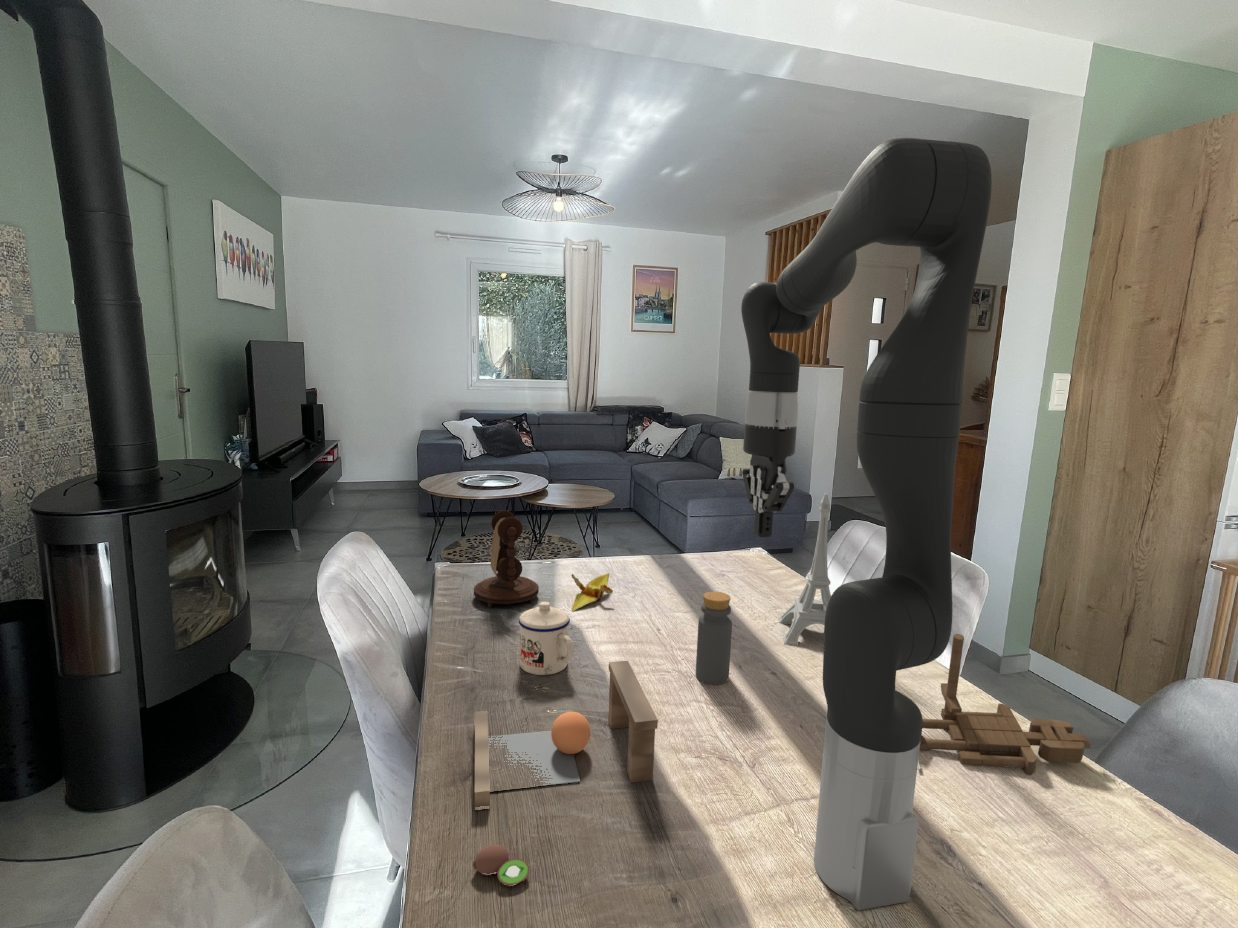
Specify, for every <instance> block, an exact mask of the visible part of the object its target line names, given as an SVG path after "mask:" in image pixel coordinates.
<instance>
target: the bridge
mask: <svg viewBox="0 0 1238 928" xmlns="http://www.w3.org/2000/svg"><path fill="white" fill-rule="evenodd" d="M608 672H609V687H608V689H609V691H608V692H609V693H608V721H607V722H608V724H609V727H610V729H611V730H612V729H623V728H628V739H627V740H628V741H627V742H628V743H627V744H628V745H627V765H626V766H627V768H626V769H627V771H626V774H627V776H628V777H627V778H628V779H629V781H630V782H629V783H631V784H633V783H642V782H649V781H654V763H655V762H654V760H655V740H656V738H655V737H656V729H657V730H658V727H659V726H658V723H659V719H658V718H657V715H656V714H655V711H654V709H653V708H652V706H651V704H650V702H649V699H648V698H647V696H646V694H645V692H644V690H643V687H642V686H641V684H640V682H639V680H638V678H637V676H636V673H635V672H634V670H633V668H632V666H631V664H630V661H629V660H618V661H608Z"/></svg>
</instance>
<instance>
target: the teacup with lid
mask: <svg viewBox="0 0 1238 928" xmlns="http://www.w3.org/2000/svg"><path fill="white" fill-rule="evenodd" d="M570 623H571V619H570V616H569V614H568V613H567V612H566V611H564V610H563V609H561V608H560V609H559V608H556V607H553V606H551V603H550V602H548V601H541V602H540V603H539V604H538V606H536V607H535V608H531V609H528V610H525V611H524V612H523V613H521V615H520V616H519V618H518V624H519V666H520V669H522V670H523V671H524V672H526V673H528V674H532V675H535V676H548V675H554V674H557V673H560V672H561V671H563V670H564V669H565V668H567V666H568V663H569V662H570V661H571V660H572V659H573V657H574V655H575V644H574V642H573V640H572V639H571V638H570V636H569V625H570Z"/></svg>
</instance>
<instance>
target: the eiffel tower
mask: <svg viewBox="0 0 1238 928" xmlns="http://www.w3.org/2000/svg"><path fill="white" fill-rule="evenodd" d="M818 508H819V509H818V510H819V513H820V514H819V522H818V529H817V535H816V536H817V537H816V538H817V539H816V544H815V549H814V554H813V559H812V564H811V568H810V572H809V573H807V582H806V583H805V585H804V588H803V590H802V592H801V593H800V595H799V597H794V603H793V604H792V605H791V606H790V607H789V608H788V609H787V610H786V611H785V612H784V613H783V614H782V615H780V617H778V621H779V624H786V625H791V626H790V627H789V629H788V631H787V633H786V634H785V637H783V638H782V639H783V644H784V645H786V644H788V645H789V646H796V645H798V646H799V642H798V641H799V638H800V635H801V633H803V631H805V629H806V628H808V627H810V626H812V625H822V626H824V624H825V615H826V610H827V605H828V602H829V600H830V598H831V596H832V593H831V591H830V585H831V583H832V582H831V580H830V578H829V576H828V575H829V572H828V529H829V528H828V527H829V526H828V525H829V523H828V522H829V514H830V512H831V511H832V510H831V502H830V500H829V493H823V497H822V498H821V500H820V503H819V506H818ZM817 590H820V596H821V599H815V597H816V591H817Z"/></svg>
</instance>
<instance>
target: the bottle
mask: <svg viewBox="0 0 1238 928" xmlns="http://www.w3.org/2000/svg"><path fill="white" fill-rule="evenodd" d="M702 598H703V602H702V604H701V609H700V610H701V612H702V613H703V614H702V615H701V616H699V618H698V625H697V637H696V639H697V642H696V658H695V659H696V661H695V677H696V679H697V680H698V681H700V682H702V683H704V684H709V685H716V686H717V685H723V684H725V683H727V682H728V680H729V678H730V676H729V675H730V667H731V665H730V663H731V649H732V648H731V647H732V632H733V631H732V630H733V621H732V619H731V618H730V617H728V616H729V615H731V613H732V607H731V606H730V601H731V596H730V595H729V594H728V593H726V592H722V591H707V592H705V593H703V595H702Z"/></svg>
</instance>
